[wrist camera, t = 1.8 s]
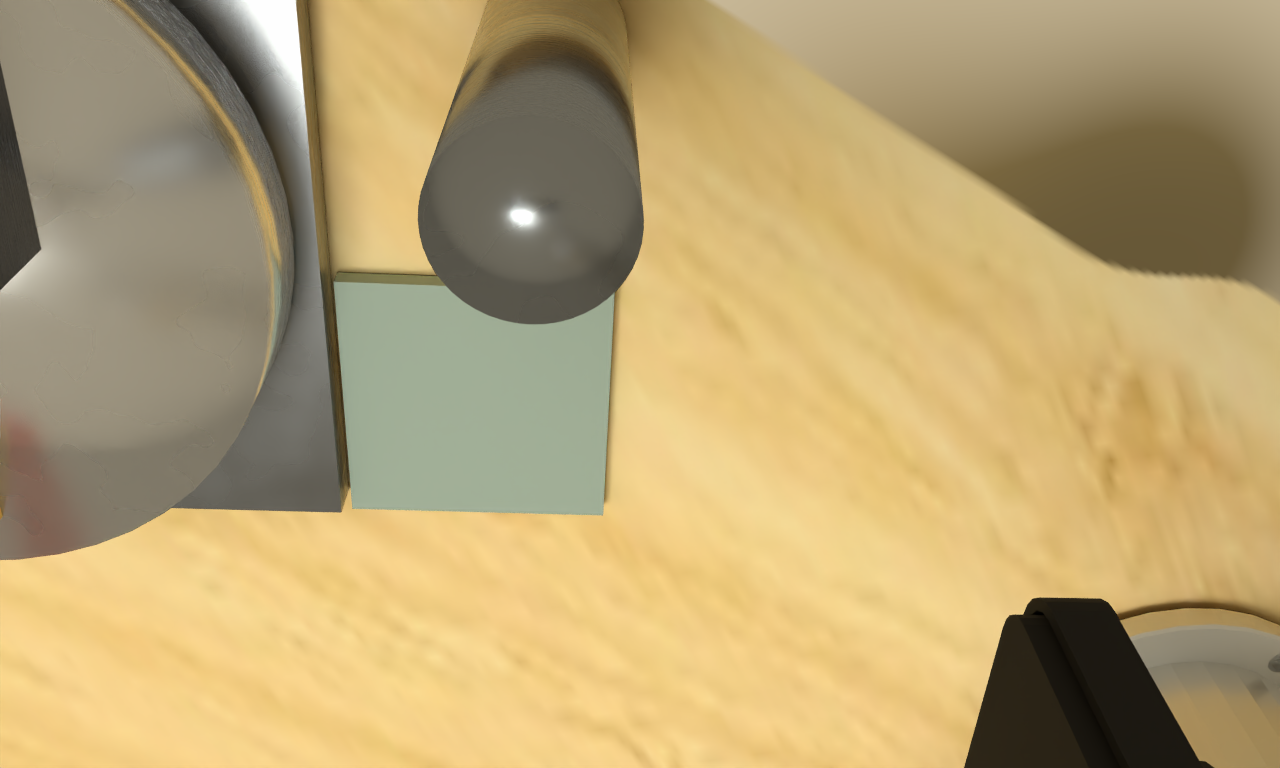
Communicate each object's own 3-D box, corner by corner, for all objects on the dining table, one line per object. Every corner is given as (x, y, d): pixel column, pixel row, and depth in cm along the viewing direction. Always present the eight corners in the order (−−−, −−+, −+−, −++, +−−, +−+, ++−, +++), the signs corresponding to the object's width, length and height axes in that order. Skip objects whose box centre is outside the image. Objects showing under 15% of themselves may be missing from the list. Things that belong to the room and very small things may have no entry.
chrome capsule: (630, -36, 28) (650, 120, 18) (623, 110, 30) (637, 328, 20) (480, -44, 28) (413, 109, 18) (482, 103, 30) (422, 320, 19)
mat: (614, 283, 32) (614, 292, 32) (603, 503, 36) (603, 515, 36) (337, 272, 32) (333, 281, 32) (355, 496, 36) (352, 508, 35)
